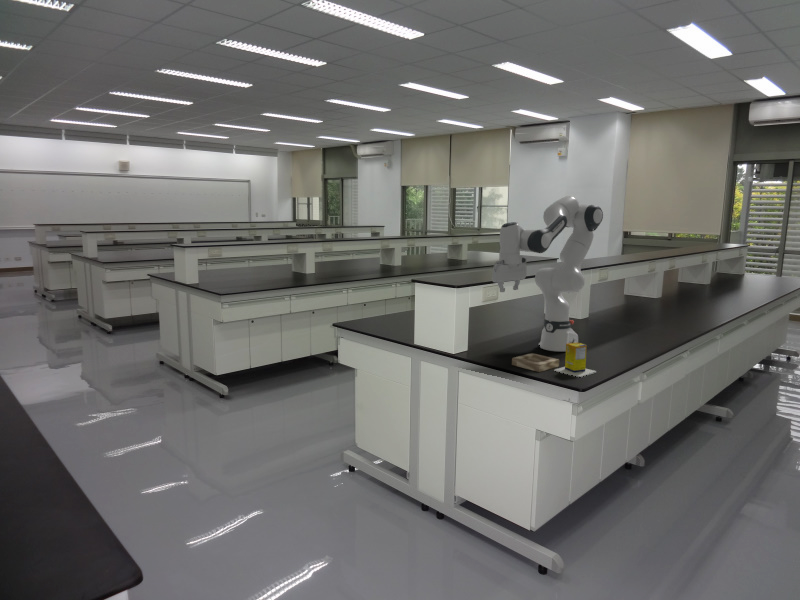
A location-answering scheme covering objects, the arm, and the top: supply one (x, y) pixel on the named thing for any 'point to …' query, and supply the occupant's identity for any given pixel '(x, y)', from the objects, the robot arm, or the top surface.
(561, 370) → the grey pad
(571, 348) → the supplement box
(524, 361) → the pocket holder
